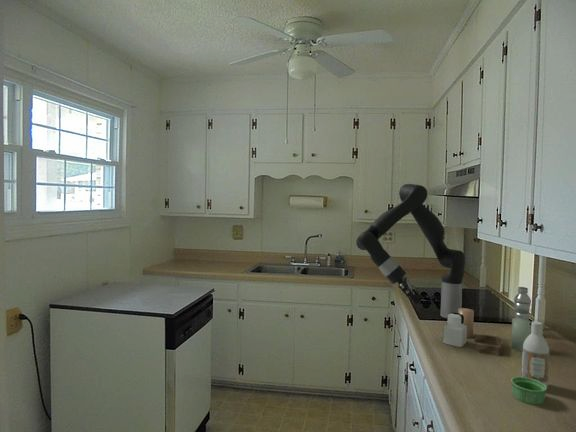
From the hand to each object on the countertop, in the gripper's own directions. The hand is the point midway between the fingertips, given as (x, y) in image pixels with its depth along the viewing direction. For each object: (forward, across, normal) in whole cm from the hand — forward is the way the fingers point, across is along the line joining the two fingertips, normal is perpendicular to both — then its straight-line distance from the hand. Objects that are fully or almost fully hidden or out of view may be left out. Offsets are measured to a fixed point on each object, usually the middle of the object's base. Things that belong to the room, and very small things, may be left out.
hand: (419, 300), depth 163 cm
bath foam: (+37, -29, -14) cm, 49 cm away
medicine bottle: (+21, 0, +1) cm, 21 cm away
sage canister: (+38, +5, -16) cm, 41 cm away
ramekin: (+34, -39, -12) cm, 53 cm away
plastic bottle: (+40, +24, -19) cm, 51 cm away
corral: (+29, 0, -8) cm, 30 cm away
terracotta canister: (+24, +12, -2) cm, 27 cm away
